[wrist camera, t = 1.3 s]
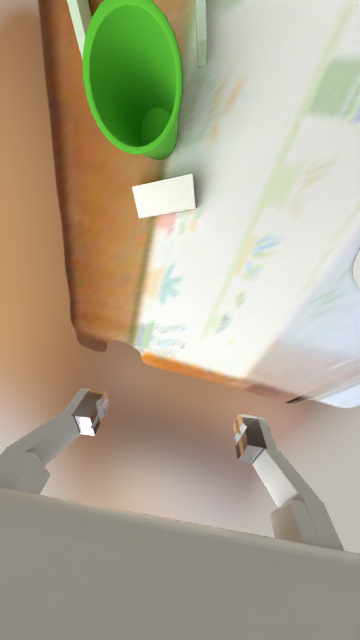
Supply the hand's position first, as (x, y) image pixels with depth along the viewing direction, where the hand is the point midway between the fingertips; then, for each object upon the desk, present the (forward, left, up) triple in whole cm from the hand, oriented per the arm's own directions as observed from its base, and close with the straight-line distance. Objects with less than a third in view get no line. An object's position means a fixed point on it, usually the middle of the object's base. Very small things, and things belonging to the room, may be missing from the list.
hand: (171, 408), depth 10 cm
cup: (-8, -19, -28) cm, 35 cm away
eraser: (-4, -13, -28) cm, 31 cm away
